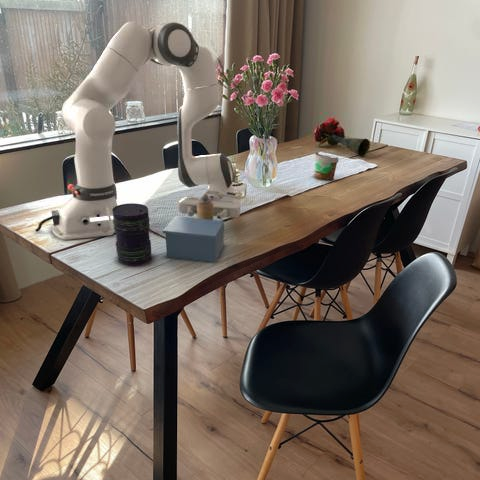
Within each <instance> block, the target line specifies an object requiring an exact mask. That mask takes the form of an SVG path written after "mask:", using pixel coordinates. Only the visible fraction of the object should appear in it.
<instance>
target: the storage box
mask: <svg viewBox="0 0 480 480" xmlns="http://www.w3.org/2000/svg"><path fill="white" fill-rule="evenodd" d="M224 235H225V223H224V224H223V226H222V228H221V229H220V231H219V233H218V235H217V237H216V238H205V237H195V236H185V235H175V234H165V247H166V258H172V259H182V260H190V261H191V260H192V261H200V262H210V263H216V262H217V260H218V258H219V256H220V254H221V252H222V250H223V248H224V246H225V245H224V243H225V236H224Z"/></svg>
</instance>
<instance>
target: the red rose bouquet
mask: <svg viewBox="0 0 480 480" xmlns="http://www.w3.org/2000/svg"><path fill="white" fill-rule="evenodd" d="M313 134H314V135H313V139H314V141H315V142H317V143H318V145H317V147H319V146H320V145H322V144H325V143H327V144H328V145H329V146H337V145H338V144H340V145H343V146H344V147H346V148H347V149H349V150H350V151H351V152H353V153H354V154H355V155H357V156H358V157H360V158H364V157H365V156H366V155H367V154H368V152H369V151H370V147H371V141H370V140H369V139H368V138H349V137H346V135H345V130H344V128H343V127H342V126H341V125H340V122H339V120H337V119H335V117H329V118H328V119H326V121H324V122H322V123H320V124H319V125H317V126H316V128H315V129H314V133H313Z"/></svg>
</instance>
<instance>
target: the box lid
mask: <svg viewBox="0 0 480 480" xmlns="http://www.w3.org/2000/svg"><path fill="white" fill-rule="evenodd" d="M223 224H224V225H225V220H221V219H213V220H209V219H199V218H197V217H189V216H177V215H175V216H174V217H173V218H172V219H171V220H170V221H169V223H168V224H167V225H166V226H165V227H164V228H163V230H162V234H165V235H166V234H175V235H185V236H195V237H205V238H216V237H217V235H218V233H219V231H220V229H221V228H222V226H223Z"/></svg>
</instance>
